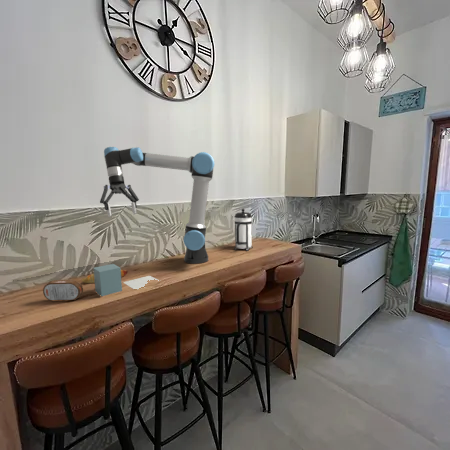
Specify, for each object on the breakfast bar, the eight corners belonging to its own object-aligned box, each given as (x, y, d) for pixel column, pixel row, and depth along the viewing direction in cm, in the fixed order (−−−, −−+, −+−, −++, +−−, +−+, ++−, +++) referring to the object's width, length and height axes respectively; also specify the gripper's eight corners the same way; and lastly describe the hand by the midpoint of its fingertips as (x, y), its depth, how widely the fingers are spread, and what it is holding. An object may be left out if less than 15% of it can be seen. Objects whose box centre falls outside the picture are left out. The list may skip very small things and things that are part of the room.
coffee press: (229, 248, 199) (228, 208, 195) (248, 246, 204) (248, 207, 200) (237, 253, 183) (236, 210, 179) (258, 251, 187) (258, 209, 183)
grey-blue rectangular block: (115, 286, 122) (113, 263, 121) (122, 291, 116) (120, 267, 115) (95, 291, 117) (93, 267, 115) (101, 297, 110) (99, 271, 109)
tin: (84, 298, 110) (82, 278, 109) (80, 301, 107) (78, 281, 106) (47, 299, 110) (45, 280, 108) (42, 302, 106) (40, 282, 105)
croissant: (83, 293, 125) (82, 281, 121) (80, 278, 132) (79, 266, 128) (129, 282, 136) (129, 271, 132) (124, 269, 143) (125, 258, 139)
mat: (149, 276, 136) (149, 275, 136) (163, 282, 126) (163, 282, 126) (122, 283, 127) (122, 282, 127) (135, 290, 117) (134, 289, 117)
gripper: (134, 178, 152) (141, 214, 151) (88, 178, 135) (96, 218, 134) (140, 174, 147) (147, 211, 146) (93, 173, 129) (101, 215, 128)
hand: (122, 215), depth 140 cm, fingers open, 13 cm apart
